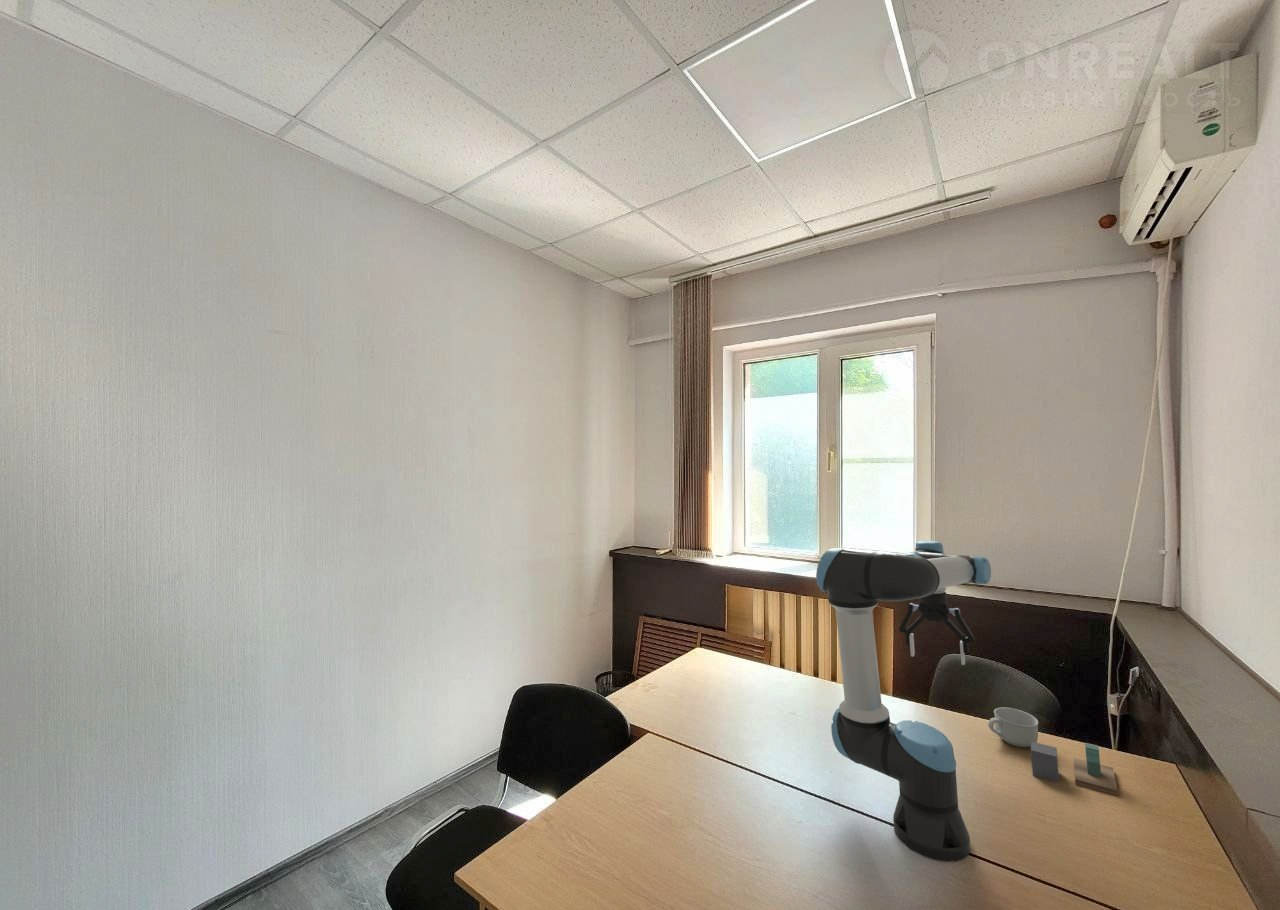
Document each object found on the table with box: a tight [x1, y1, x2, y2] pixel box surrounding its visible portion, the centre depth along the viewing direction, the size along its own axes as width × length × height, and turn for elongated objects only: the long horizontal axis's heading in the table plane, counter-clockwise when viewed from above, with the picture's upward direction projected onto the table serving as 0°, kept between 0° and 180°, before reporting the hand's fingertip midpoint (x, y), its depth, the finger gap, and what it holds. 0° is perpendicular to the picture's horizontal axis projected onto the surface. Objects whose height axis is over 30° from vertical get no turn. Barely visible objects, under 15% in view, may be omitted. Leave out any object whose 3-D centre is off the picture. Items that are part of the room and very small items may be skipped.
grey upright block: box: [1030, 742, 1060, 783], centre depth 132 cm, size 5×5×7 cm
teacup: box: [987, 706, 1039, 748], centre depth 148 cm, size 14×11×8 cm
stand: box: [1072, 742, 1119, 796], centre depth 130 cm, size 12×8×8 cm, turn 140°
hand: (937, 659), depth 152 cm, fingers open, 13 cm apart
